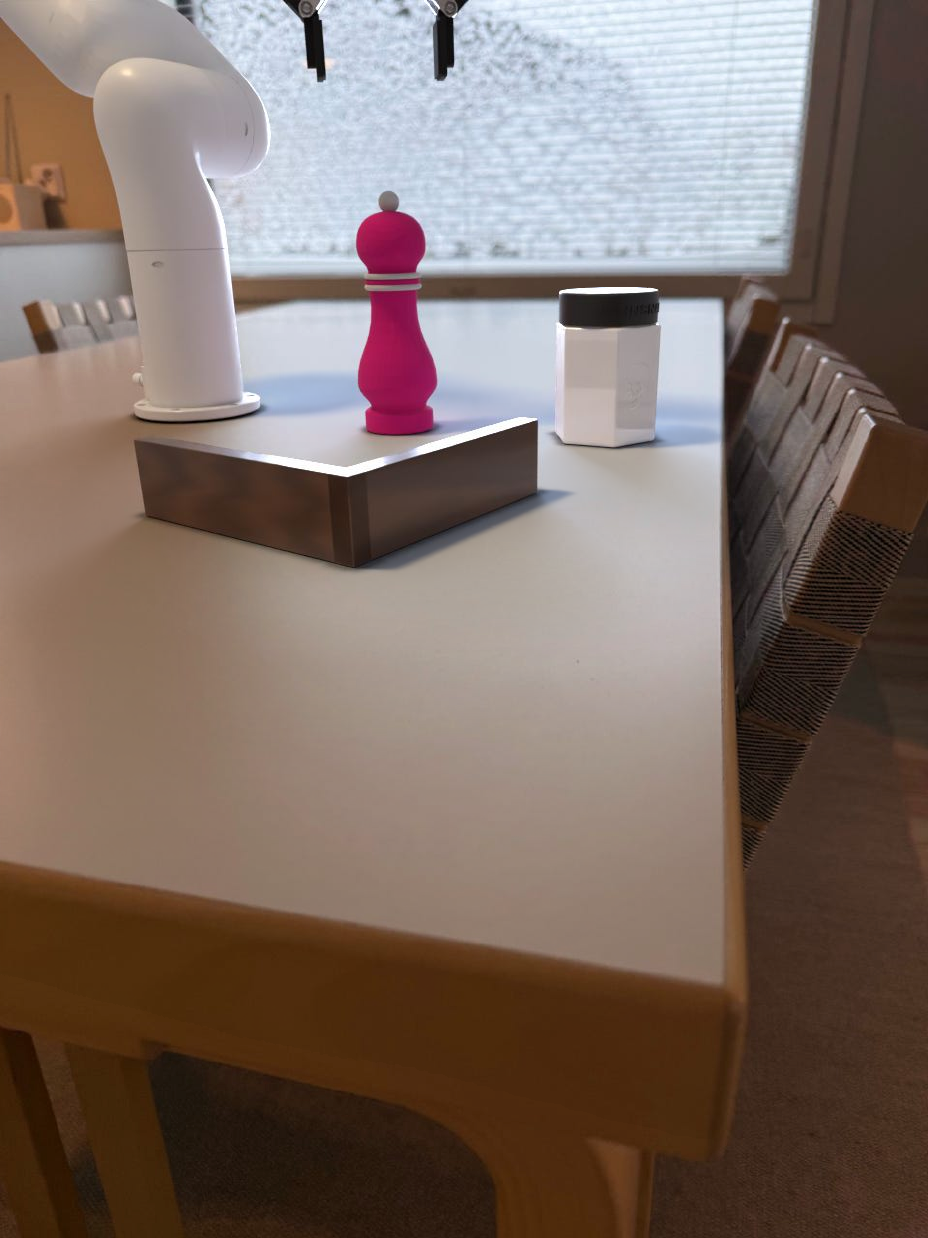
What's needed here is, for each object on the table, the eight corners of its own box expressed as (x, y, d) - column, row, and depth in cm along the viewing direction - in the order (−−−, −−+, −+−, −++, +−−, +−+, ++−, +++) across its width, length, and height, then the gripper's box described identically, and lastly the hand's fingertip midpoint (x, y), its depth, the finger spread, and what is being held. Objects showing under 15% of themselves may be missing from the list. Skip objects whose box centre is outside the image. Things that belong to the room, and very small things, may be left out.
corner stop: (145, 515, 60) (132, 439, 58) (341, 460, 74) (337, 396, 72) (353, 567, 50) (347, 476, 48) (537, 492, 63) (538, 419, 62)
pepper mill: (452, 423, 87) (445, 189, 79) (416, 438, 81) (405, 187, 73) (385, 418, 90) (372, 193, 82) (346, 433, 84) (328, 190, 76)
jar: (595, 452, 74) (600, 294, 70) (533, 436, 81) (535, 291, 76) (675, 437, 79) (685, 289, 74) (611, 423, 85) (616, 286, 81)
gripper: (475, -166, 72) (480, 85, 79) (250, -171, 70) (274, 87, 77) (492, -209, 65) (495, 70, 72) (243, -216, 63) (270, 72, 70)
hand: (381, 78), depth 74 cm, fingers open, 9 cm apart
